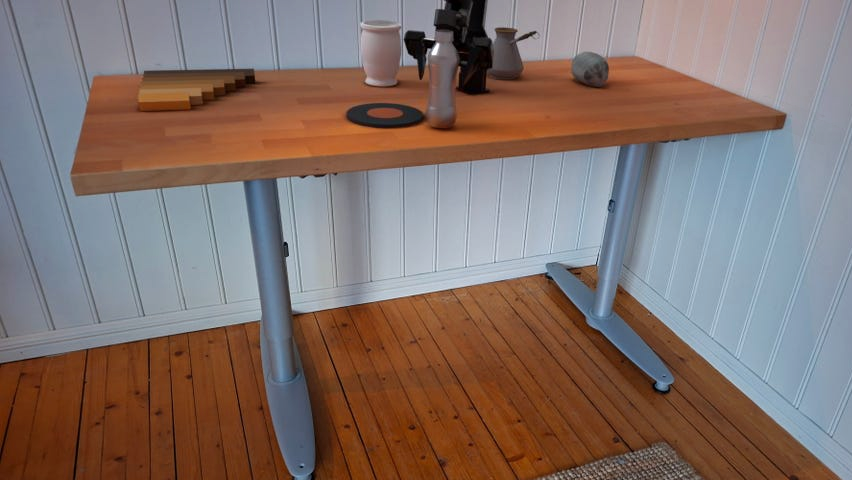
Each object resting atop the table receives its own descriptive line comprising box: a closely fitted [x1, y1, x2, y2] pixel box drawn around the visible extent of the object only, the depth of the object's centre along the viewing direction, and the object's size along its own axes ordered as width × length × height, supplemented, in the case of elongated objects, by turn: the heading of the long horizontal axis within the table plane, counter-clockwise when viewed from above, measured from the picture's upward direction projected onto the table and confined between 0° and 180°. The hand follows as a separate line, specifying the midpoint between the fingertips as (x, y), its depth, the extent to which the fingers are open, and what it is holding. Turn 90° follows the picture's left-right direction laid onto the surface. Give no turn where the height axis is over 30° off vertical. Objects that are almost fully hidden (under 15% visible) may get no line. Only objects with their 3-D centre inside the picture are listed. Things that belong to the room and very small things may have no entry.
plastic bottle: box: [425, 29, 459, 129], centre depth 143 cm, size 6×7×20 cm
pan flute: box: [137, 68, 256, 112], centre depth 158 cm, size 25×3×25 cm
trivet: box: [346, 102, 424, 129], centre depth 152 cm, size 17×17×1 cm
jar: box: [359, 19, 402, 87], centre depth 175 cm, size 11×10×15 cm
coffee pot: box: [487, 26, 541, 80], centre depth 186 cm, size 21×12×15 cm, turn 28°
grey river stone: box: [570, 51, 610, 88], centre depth 191 cm, size 14×10×10 cm
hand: (441, 81), depth 142 cm, fingers open, 9 cm apart
